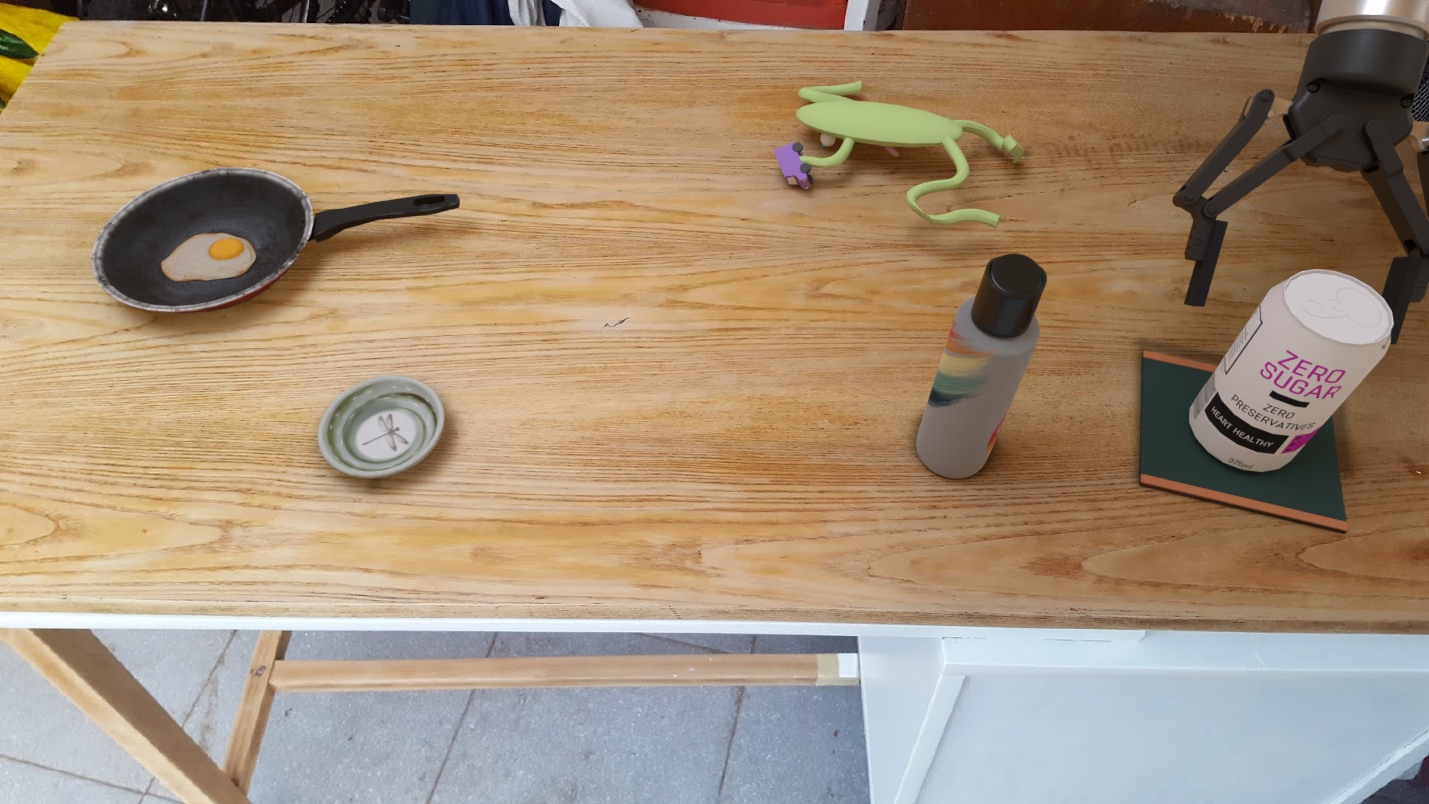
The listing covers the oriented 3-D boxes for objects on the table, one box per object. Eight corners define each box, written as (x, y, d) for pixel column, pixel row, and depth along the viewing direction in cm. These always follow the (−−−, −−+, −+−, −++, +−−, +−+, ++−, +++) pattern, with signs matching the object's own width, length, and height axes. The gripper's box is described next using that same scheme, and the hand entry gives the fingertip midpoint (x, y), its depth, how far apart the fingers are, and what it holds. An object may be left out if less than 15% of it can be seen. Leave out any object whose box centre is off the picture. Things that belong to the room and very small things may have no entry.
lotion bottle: (990, 430, 76) (1066, 248, 61) (982, 488, 73) (1061, 310, 57) (919, 415, 77) (977, 231, 61) (909, 471, 74) (967, 291, 58)
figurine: (969, 278, 87) (984, 233, 83) (729, 169, 96) (731, 122, 92) (1048, 173, 96) (1065, 127, 92) (822, 82, 105) (828, 36, 101)
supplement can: (1267, 392, 79) (1369, 261, 67) (1308, 476, 74) (1426, 350, 62) (1171, 394, 78) (1256, 263, 67) (1206, 478, 73) (1304, 352, 62)
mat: (1326, 393, 79) (1329, 389, 79) (1344, 533, 71) (1348, 530, 71) (1141, 353, 82) (1143, 349, 81) (1138, 485, 73) (1141, 481, 73)
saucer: (302, 439, 75) (292, 421, 73) (406, 374, 79) (399, 355, 77) (369, 515, 71) (359, 498, 69) (475, 442, 75) (469, 424, 73)
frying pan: (126, 205, 92) (107, 174, 89) (462, 165, 96) (454, 134, 93) (90, 350, 80) (67, 320, 77) (472, 297, 85) (463, 267, 82)
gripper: (1523, 80, 71) (1435, 356, 74) (1178, 27, 75) (1108, 290, 78) (1595, 55, 64) (1494, 362, 67) (1209, -2, 68) (1130, 290, 71)
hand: (1286, 324), depth 73 cm, fingers open, 13 cm apart
